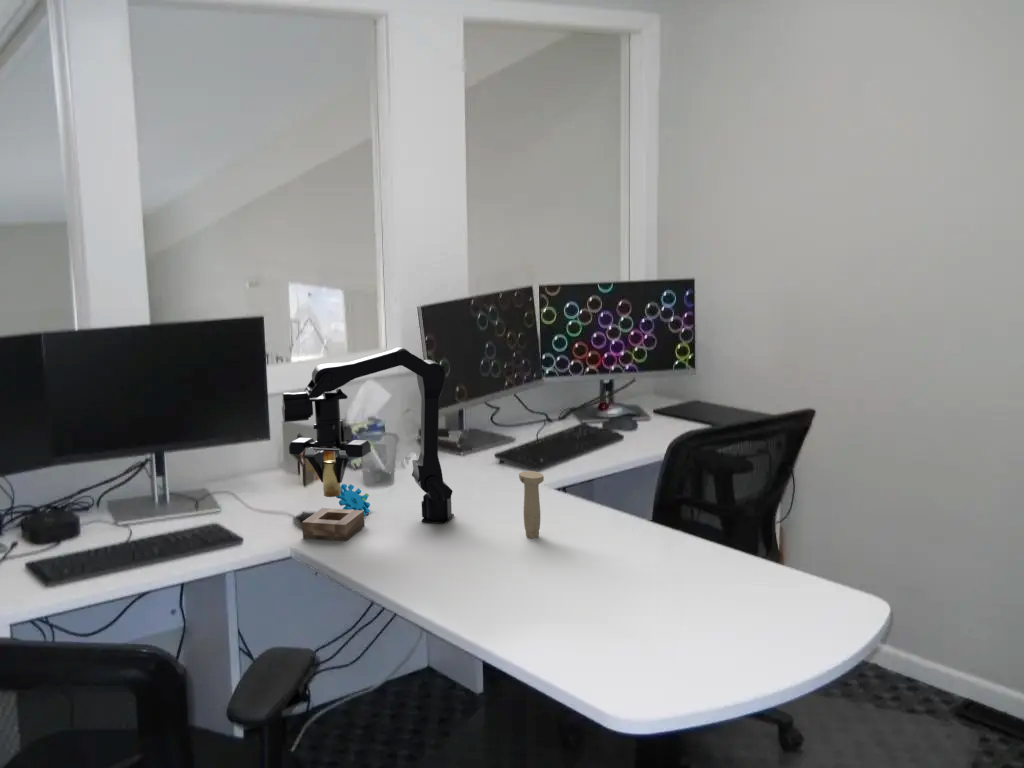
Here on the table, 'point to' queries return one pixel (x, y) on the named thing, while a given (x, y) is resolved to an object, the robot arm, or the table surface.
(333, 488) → the pin
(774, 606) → the table surface
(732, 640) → the table surface
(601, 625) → the table surface
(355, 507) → the gear
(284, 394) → the robot arm
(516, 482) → the table surface
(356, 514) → the socket block
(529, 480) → the handle
